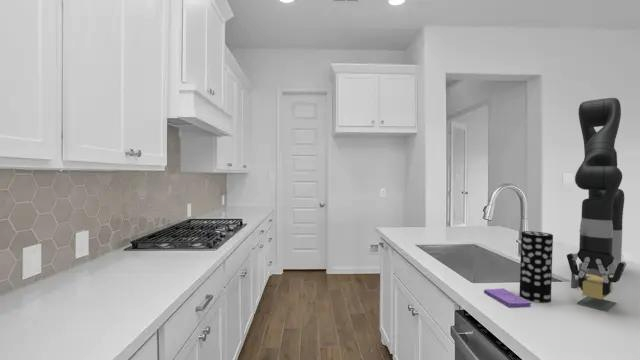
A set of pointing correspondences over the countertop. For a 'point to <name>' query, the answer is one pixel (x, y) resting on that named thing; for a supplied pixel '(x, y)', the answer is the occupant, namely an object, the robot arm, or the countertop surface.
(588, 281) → the wooden block
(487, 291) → the sponges
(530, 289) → the white-spotted black cylinder
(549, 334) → the countertop surface
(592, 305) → the mat
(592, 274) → the dispenser
